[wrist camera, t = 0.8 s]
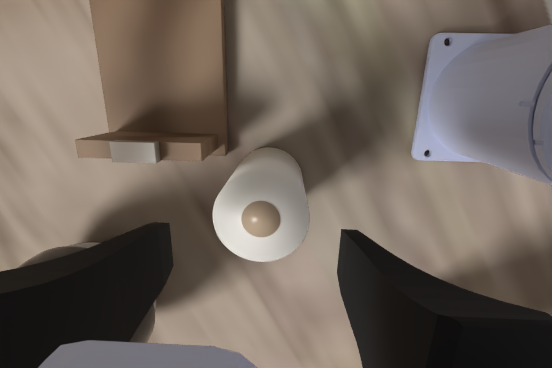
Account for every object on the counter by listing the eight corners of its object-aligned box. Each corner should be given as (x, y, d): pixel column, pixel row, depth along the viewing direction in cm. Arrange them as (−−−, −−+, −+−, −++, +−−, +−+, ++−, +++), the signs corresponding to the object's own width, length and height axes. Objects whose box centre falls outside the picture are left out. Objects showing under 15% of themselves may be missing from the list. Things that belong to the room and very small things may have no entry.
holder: (223, -24, 18) (195, -77, 12) (228, 152, 21) (208, 172, 15) (95, -26, 18) (12, -78, 12) (120, 149, 21) (63, 168, 16)
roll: (304, 148, 21) (312, 174, 14) (300, 212, 22) (307, 264, 15) (235, 146, 21) (209, 171, 14) (236, 210, 22) (214, 260, 15)
